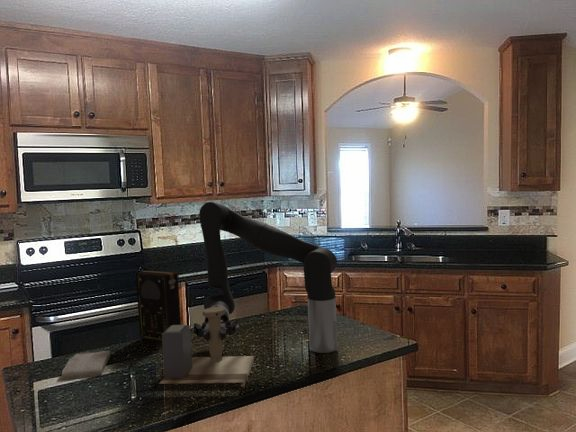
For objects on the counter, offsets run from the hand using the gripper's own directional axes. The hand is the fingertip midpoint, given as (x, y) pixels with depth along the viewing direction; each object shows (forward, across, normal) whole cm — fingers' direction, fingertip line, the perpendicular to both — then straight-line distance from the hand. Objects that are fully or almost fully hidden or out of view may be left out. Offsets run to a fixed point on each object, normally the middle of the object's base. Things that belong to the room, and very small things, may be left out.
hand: (214, 337), depth 136 cm
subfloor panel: (-9, -3, +14) cm, 17 cm away
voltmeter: (-46, -22, +15) cm, 53 cm away
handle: (-3, 0, +8) cm, 9 cm away
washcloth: (-22, -42, +15) cm, 50 cm away
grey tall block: (-8, -12, +13) cm, 19 cm away
